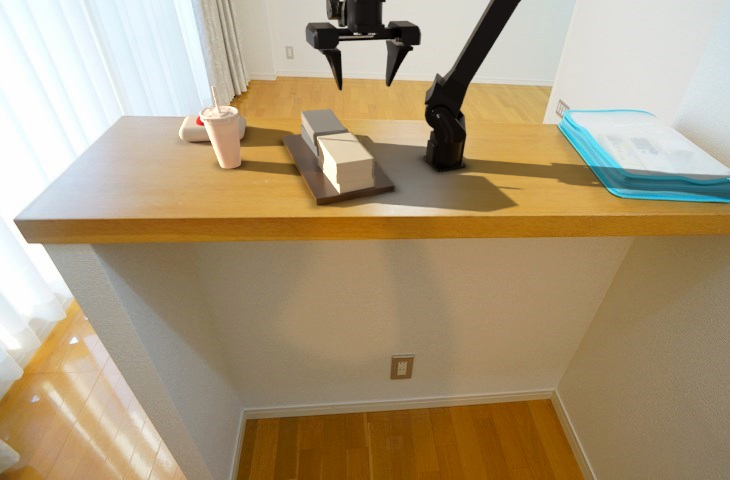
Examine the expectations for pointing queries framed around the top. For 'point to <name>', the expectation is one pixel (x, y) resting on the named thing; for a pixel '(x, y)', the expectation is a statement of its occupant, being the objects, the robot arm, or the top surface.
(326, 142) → the white book
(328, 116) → the grey flat block
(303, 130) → the gray rectangular block
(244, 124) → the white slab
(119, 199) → the top surface
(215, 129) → the smoothie
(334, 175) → the white book
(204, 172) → the top surface
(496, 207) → the top surface
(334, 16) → the robot arm
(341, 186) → the white book
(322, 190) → the walnut board
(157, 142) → the top surface
